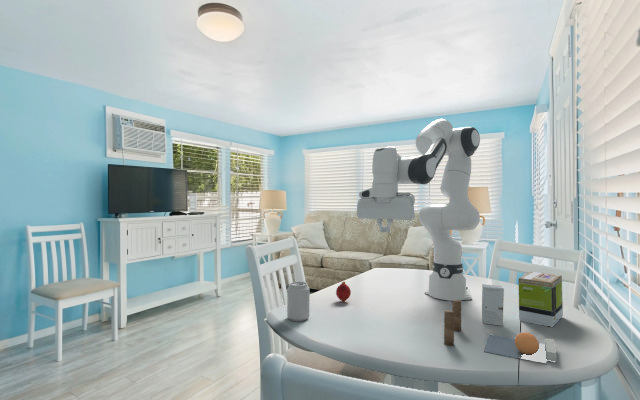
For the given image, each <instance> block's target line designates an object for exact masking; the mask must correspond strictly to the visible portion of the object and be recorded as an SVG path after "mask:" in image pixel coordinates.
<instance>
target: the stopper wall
mask: <svg viewBox="0 0 640 400" xmlns="http://www.w3.org/2000/svg"><path fill="white" fill-rule="evenodd" d="M544 344H545V351H546V359H547V360H551V361H556V362H557V350H556V345H555V341H554V339H553V338H547V337H546V338H544Z"/></svg>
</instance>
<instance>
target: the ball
mask: <svg viewBox="0 0 640 400" xmlns="http://www.w3.org/2000/svg"><path fill="white" fill-rule="evenodd" d="M514 339H515V346H516V348H517V349H518V350H519V351H520V352H521V353H523V354H526V355H532V354H534V353H536V352H537V351H538V349H539V343H540V342H539V340H538V339H537V337H536V336H535V335H533V334H532V333H530V332H527V331H524V332H523V331H522V332H519V333H518V334H517V335H516V336H515V338H514Z"/></svg>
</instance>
